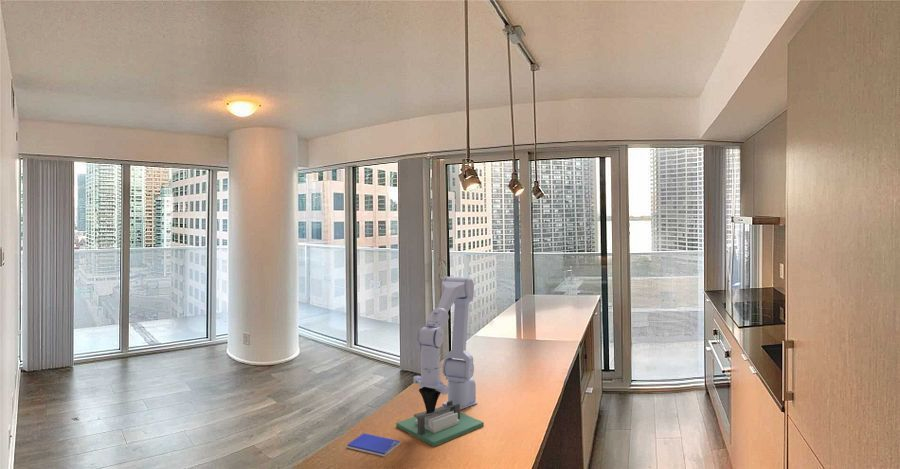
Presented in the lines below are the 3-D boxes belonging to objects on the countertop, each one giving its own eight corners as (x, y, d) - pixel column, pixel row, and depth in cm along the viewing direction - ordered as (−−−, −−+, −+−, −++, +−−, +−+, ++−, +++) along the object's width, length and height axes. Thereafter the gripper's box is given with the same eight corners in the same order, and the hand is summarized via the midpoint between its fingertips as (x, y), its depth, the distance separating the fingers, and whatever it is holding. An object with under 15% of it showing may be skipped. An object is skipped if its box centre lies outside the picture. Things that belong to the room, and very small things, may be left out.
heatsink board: (445, 409, 160) (445, 391, 160) (483, 426, 147) (483, 406, 147) (396, 426, 147) (396, 407, 147) (433, 446, 133) (433, 425, 133)
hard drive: (400, 440, 136) (364, 432, 141) (384, 452, 128) (347, 444, 133) (400, 445, 136) (364, 437, 141) (384, 458, 128) (347, 449, 133)
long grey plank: (452, 406, 151) (452, 403, 151) (456, 408, 150) (456, 405, 150) (413, 417, 141) (413, 413, 141) (417, 419, 140) (417, 415, 140)
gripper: (405, 364, 147) (405, 408, 147) (435, 375, 136) (435, 422, 136) (423, 360, 151) (423, 402, 152) (453, 370, 141) (454, 416, 141)
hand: (430, 411), depth 144 cm, fingers closed, pressing on long grey plank
